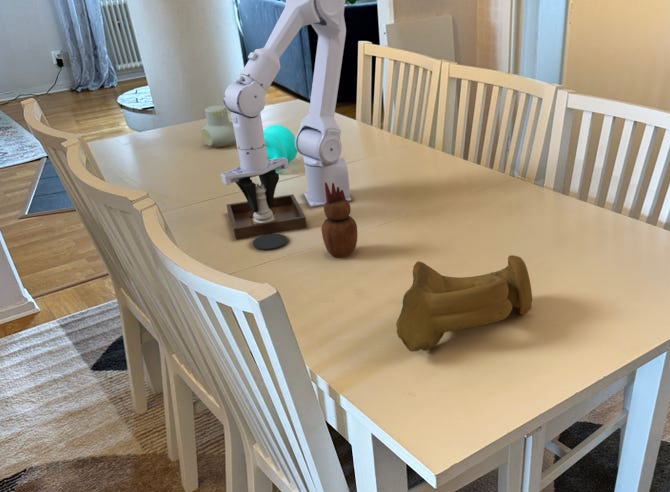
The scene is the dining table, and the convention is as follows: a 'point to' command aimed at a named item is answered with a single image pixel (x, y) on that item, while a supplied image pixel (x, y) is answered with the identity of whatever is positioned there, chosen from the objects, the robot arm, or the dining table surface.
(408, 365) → the dining table surface
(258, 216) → the rook chess piece
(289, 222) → the tray
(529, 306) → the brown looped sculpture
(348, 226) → the wooden figurine
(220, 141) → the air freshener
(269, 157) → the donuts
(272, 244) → the coaster
